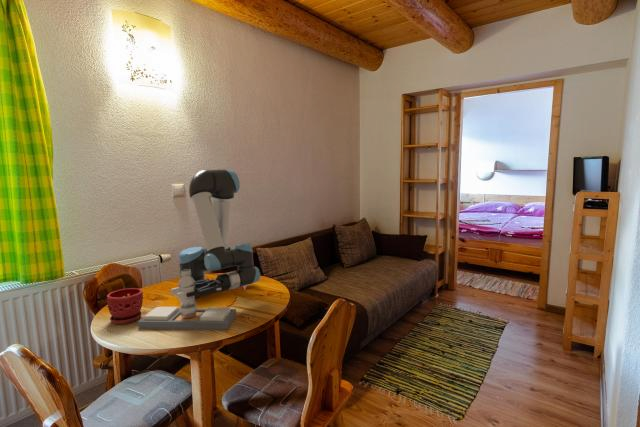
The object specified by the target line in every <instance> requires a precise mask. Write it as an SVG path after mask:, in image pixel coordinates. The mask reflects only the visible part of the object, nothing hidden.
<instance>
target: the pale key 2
mask: <svg viewBox="0 0 640 427" xmlns="http://www.w3.org/2000/svg"><path fill="white" fill-rule="evenodd" d="M206 309H207V310H206V311H205V312H204V313H203V314H202V315H201V316H200V321H224V320H225V319H226V317H227V316H228V315H229V313H230V312H231V309H232V308H231V307H225V306H224V307H222V306H221V307H220V306H219V307H217V306H216V307H215V306H214V307H213V306H211V307H210V306H209V307H208V308H206Z"/></svg>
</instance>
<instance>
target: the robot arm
mask: <svg viewBox="0 0 640 427" xmlns="http://www.w3.org/2000/svg"><path fill="white" fill-rule="evenodd" d="M240 184H241V183H240V178H239V176H238V174H237V173H236V172H235V170H232V169H201V170H200V171H198V172H196V173H195V174H194V176H192V178H191V180H190V182H189V187H188V194H189V198H190V201H191V202H193V204H194V207H195V211H196V214H197V219H198V221H199V226H200V229H201V232H202V233H201V234H202V236H203V240H204V244H205V248H203V247H202V246H194V247H193V246H192V247H188V248H185V249H183V250H181V251H180V252H179V255H178V263H179V266H178V267H179V280H180V279H181V277H182V276H181V271H182V270H185V269H190V270H191V277H192V278H193V279H194V281H195V289H192V290H188V291H184V292H180V290H179V286H178V287H174V288H171V289H170V292H171V296H172V297H173V296H176V297H177V299H176V300H177V301H181V300H182V299H185V298H189V297H193V296H194V297H195V299H198V298H202V297H205V296H209V295H212V294H215V293H219V292H220V293H222V292H225V291H229V290H235V289H237V288H241V287H243V286H244V285H247V286H248V285H253V284H255V283H257V282H260V279H261V272H260V269H259V267H257V266H255V264H254V250H253V246H252V243H250V242H240V243H237V244H235V248H234V249H233V248H232V247H231V246H230V243H229V242H228V231H229V221H230V220H229V219H230V209H231V201H232V200H233V199H234V197H235V194H236V193H238V192H239V190H240V186H241V185H240ZM211 198H212V199H211ZM232 267H236V268H237V270H233V271H229V272H226V273H221V274H217V276H216V278H214V279H213V278H212V279H209V278H206V277H205V272H210V271H211V272H212V271H220V270H223V269H227V268H232ZM252 283H253V284H252Z"/></svg>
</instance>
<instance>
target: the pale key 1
mask: <svg viewBox="0 0 640 427" xmlns="http://www.w3.org/2000/svg"><path fill="white" fill-rule="evenodd" d="M178 309H179V306H156V307H154V308H153V309H152V310H151V311H149V312H148V313H147V314H145V315H144V316H143V317H145V320H169V319H170V318H171V317H172V316H173V315H174V314H175V313H176V312H178Z"/></svg>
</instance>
